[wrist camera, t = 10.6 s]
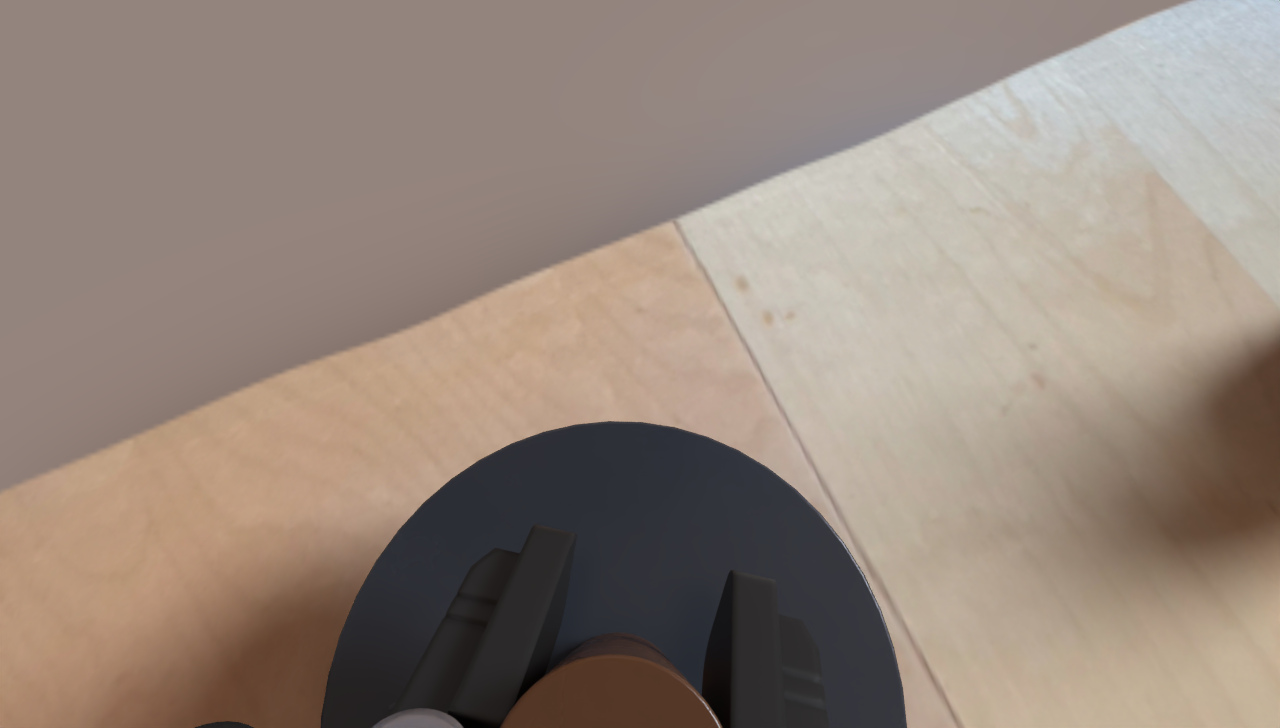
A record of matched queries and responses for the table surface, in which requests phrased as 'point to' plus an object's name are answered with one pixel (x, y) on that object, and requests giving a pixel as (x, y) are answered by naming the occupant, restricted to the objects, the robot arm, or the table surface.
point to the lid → (621, 581)
